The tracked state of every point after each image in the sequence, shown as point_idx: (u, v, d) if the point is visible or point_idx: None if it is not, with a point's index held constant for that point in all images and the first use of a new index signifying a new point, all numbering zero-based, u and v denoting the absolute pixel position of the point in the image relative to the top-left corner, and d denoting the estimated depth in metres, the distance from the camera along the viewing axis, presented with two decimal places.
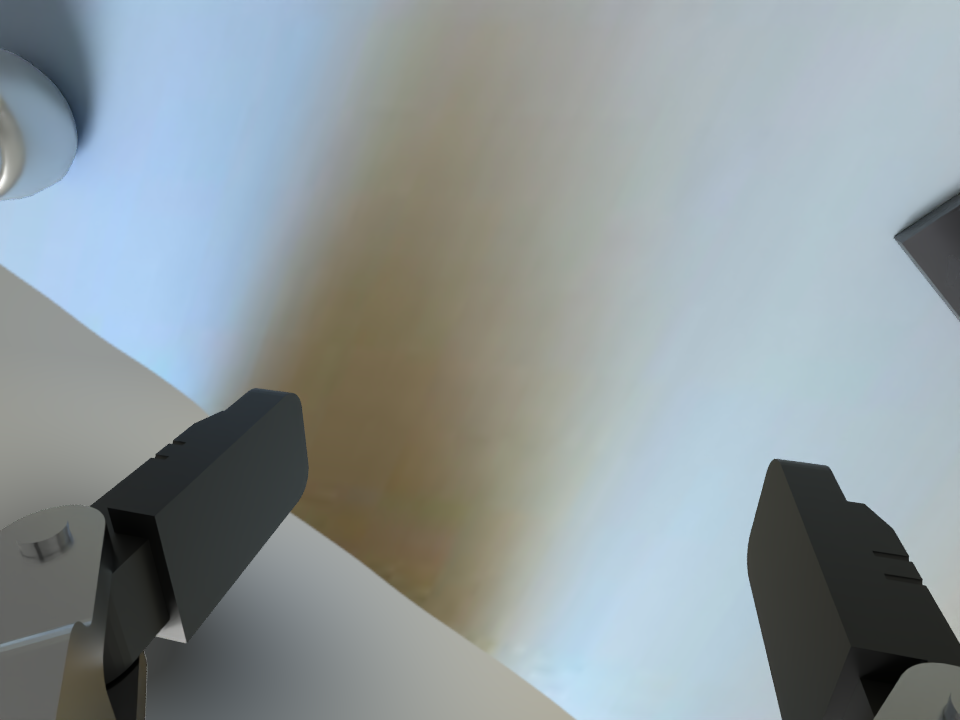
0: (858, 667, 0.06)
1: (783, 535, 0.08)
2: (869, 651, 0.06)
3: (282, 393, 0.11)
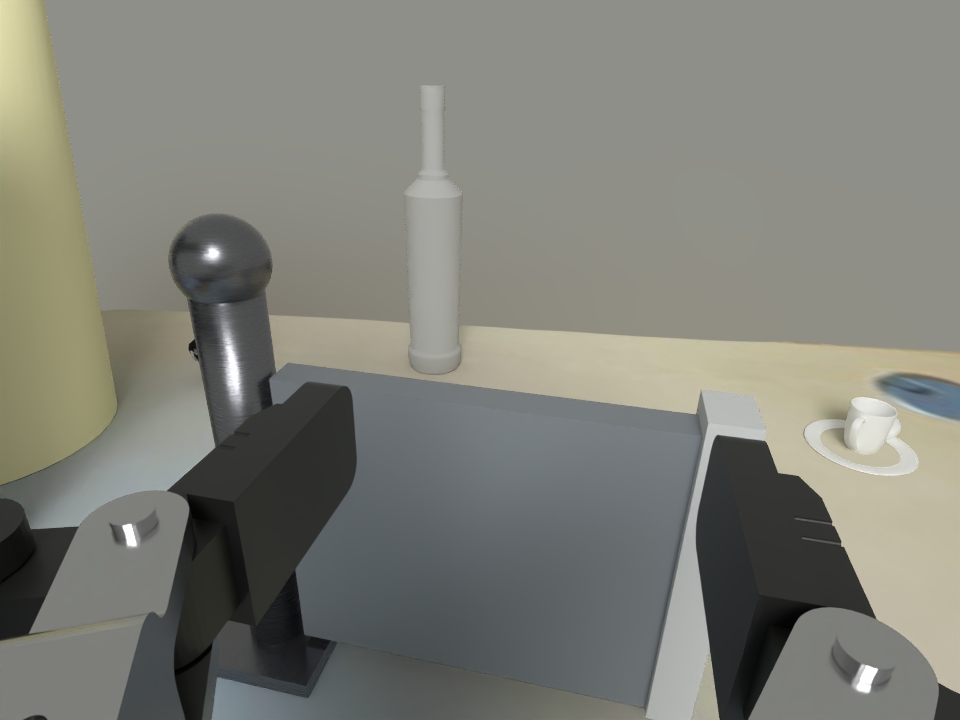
0: (767, 615, 0.07)
1: (720, 504, 0.09)
2: (776, 599, 0.07)
3: (336, 386, 0.11)
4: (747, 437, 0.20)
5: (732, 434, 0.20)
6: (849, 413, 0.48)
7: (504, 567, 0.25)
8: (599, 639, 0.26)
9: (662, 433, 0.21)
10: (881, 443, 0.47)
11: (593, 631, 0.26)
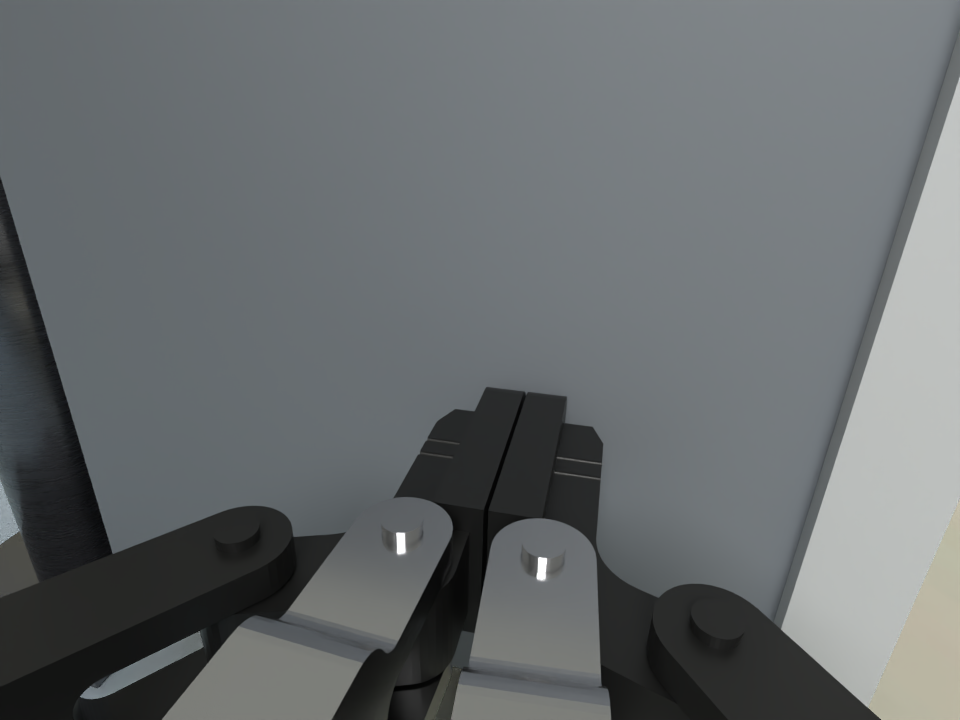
0: (498, 528, 0.08)
1: None
2: (503, 515, 0.08)
3: (517, 391, 0.11)
4: None
5: None
6: None
7: None
8: None
9: (847, 2, 0.08)
10: None
11: (634, 576, 0.12)
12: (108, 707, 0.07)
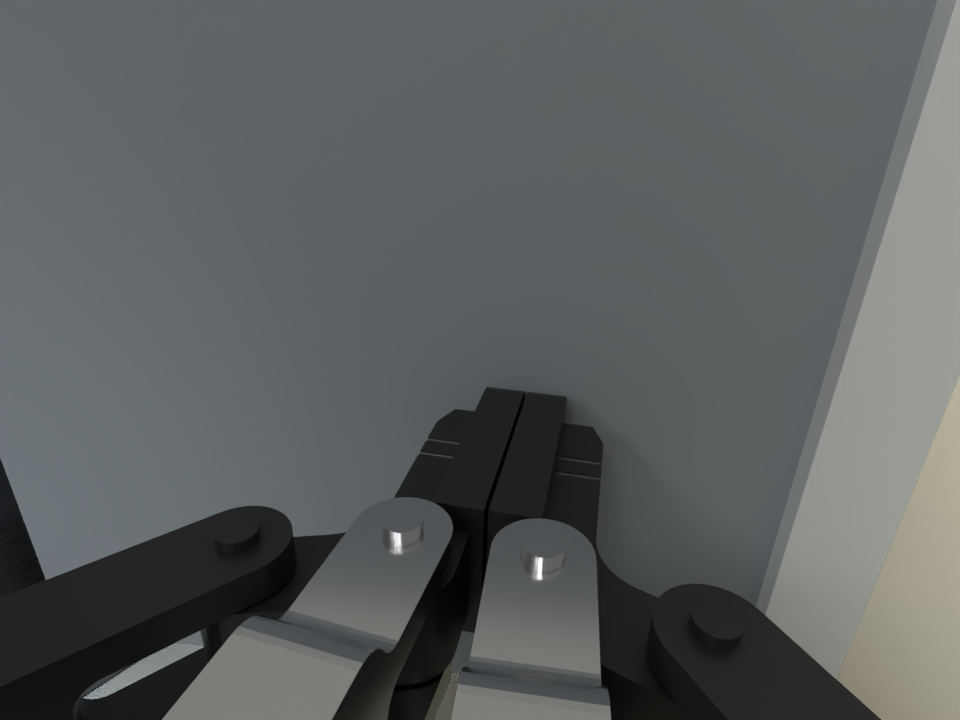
0: (498, 528, 0.08)
1: None
2: (503, 514, 0.08)
3: (517, 392, 0.11)
4: None
5: None
6: None
7: None
8: (644, 575, 0.13)
9: (830, 7, 0.08)
10: None
11: (632, 559, 0.13)
12: (108, 707, 0.07)
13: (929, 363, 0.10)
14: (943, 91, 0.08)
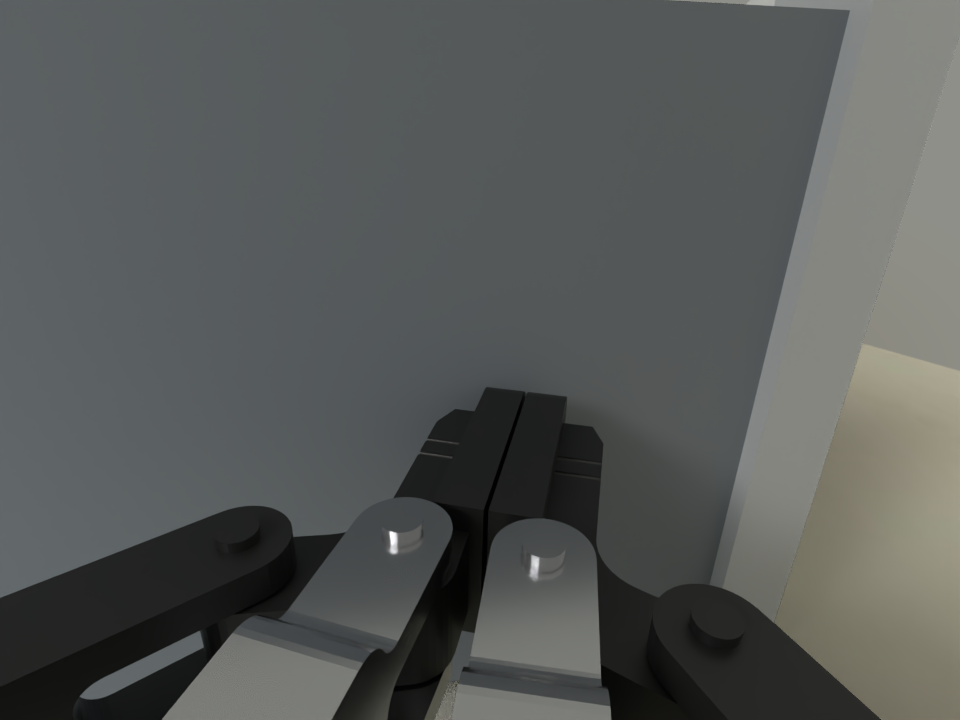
0: (497, 528, 0.08)
1: None
2: (503, 515, 0.08)
3: (517, 392, 0.11)
4: None
5: None
6: None
7: None
8: (630, 539, 0.14)
9: (775, 15, 0.10)
10: None
11: (620, 527, 0.14)
12: (108, 707, 0.07)
13: (850, 311, 0.12)
14: (862, 86, 0.10)
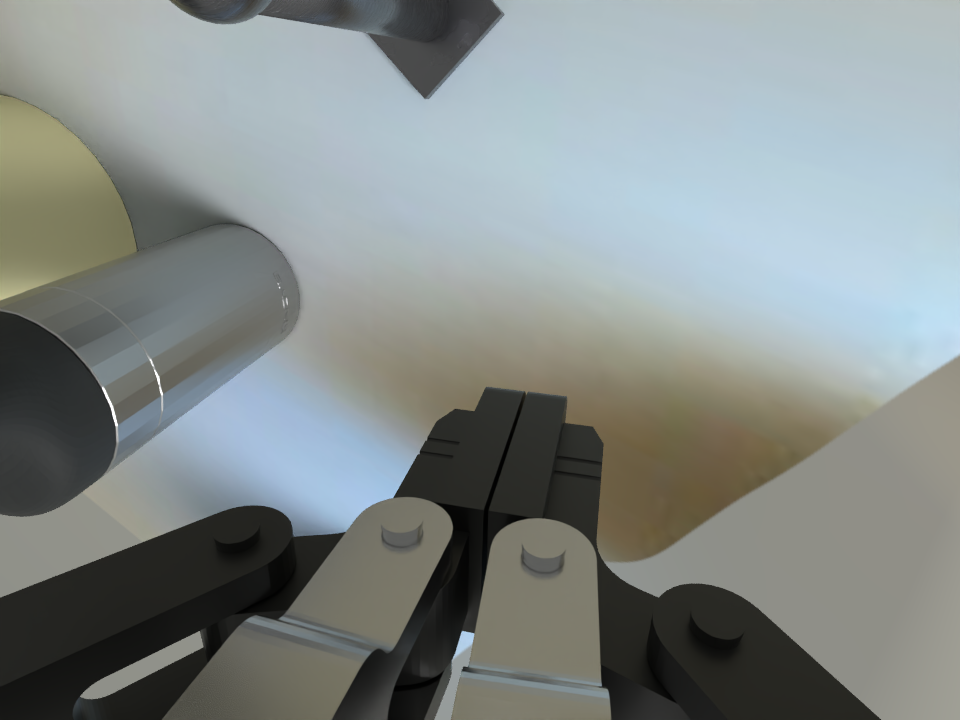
0: (498, 528, 0.08)
1: None
2: (503, 514, 0.08)
3: (517, 392, 0.11)
4: None
5: None
6: None
7: None
8: None
9: None
10: None
11: None
12: (108, 707, 0.07)
13: None
14: None
